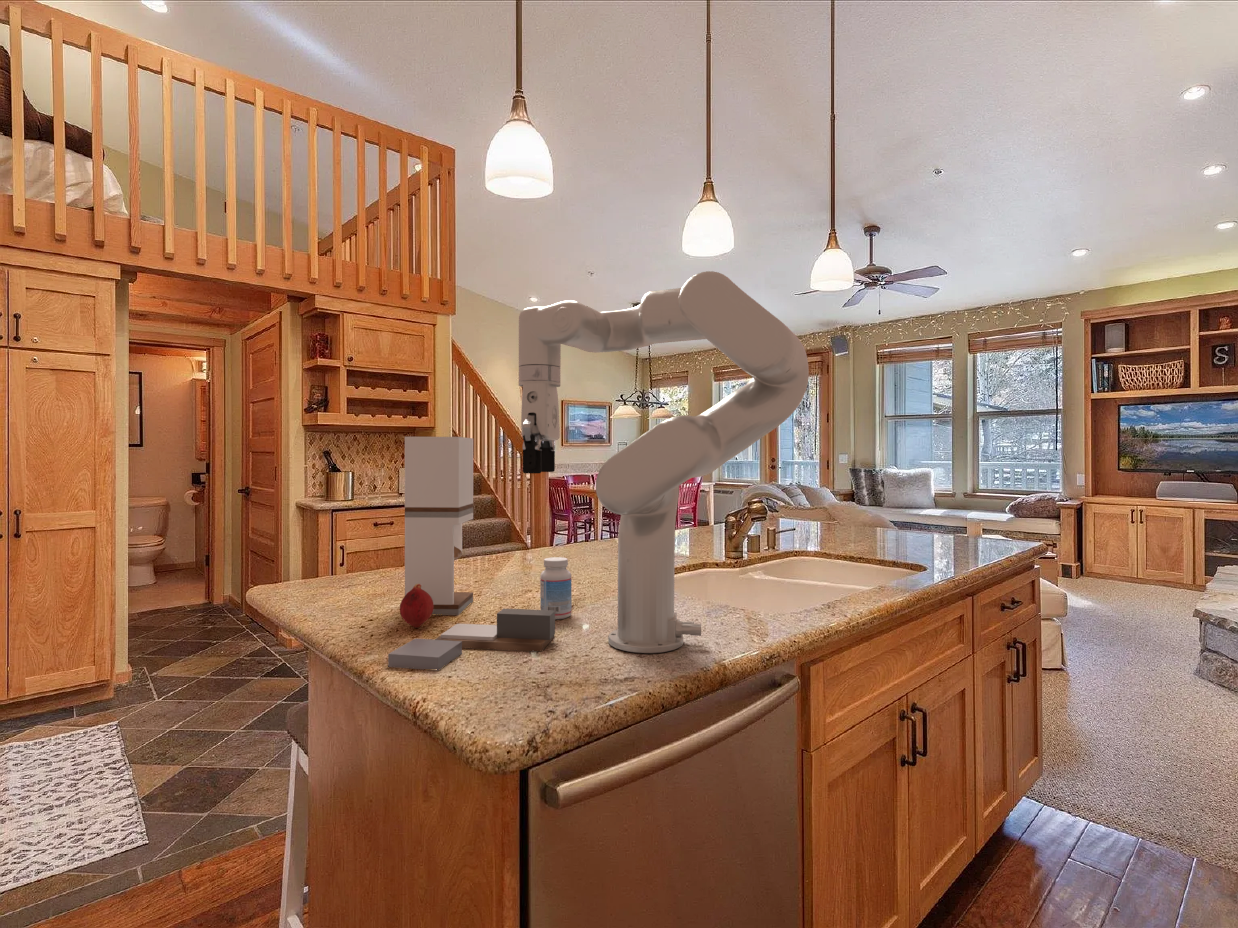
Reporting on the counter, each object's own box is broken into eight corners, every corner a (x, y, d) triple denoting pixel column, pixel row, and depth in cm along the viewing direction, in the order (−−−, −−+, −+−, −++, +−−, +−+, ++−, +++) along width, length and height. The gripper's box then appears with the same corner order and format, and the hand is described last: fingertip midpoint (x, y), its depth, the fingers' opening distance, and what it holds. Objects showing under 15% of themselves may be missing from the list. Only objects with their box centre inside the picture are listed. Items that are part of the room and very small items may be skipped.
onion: (423, 633, 111) (423, 587, 111) (393, 631, 113) (393, 586, 112) (439, 624, 117) (439, 581, 117) (410, 622, 118) (410, 580, 118)
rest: (554, 636, 110) (554, 629, 110) (541, 651, 101) (541, 644, 101) (455, 632, 112) (455, 625, 112) (434, 646, 104) (434, 639, 104)
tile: (462, 641, 100) (438, 657, 92) (461, 655, 100) (438, 672, 92) (415, 638, 102) (388, 653, 94) (415, 652, 102) (388, 669, 94)
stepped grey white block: (557, 631, 109) (557, 607, 109) (547, 643, 102) (547, 618, 102) (457, 626, 111) (457, 604, 111) (440, 638, 104) (440, 614, 104)
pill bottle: (577, 615, 125) (577, 558, 124) (558, 621, 119) (558, 562, 119) (553, 610, 128) (553, 555, 128) (533, 617, 123) (533, 559, 123)
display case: (458, 615, 124) (458, 436, 124) (404, 614, 124) (404, 436, 124) (473, 601, 136) (473, 438, 135) (423, 601, 136) (423, 438, 135)
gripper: (548, 371, 105) (547, 474, 105) (570, 383, 122) (569, 471, 123) (504, 371, 106) (504, 473, 106) (532, 383, 123) (532, 471, 124)
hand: (539, 472), depth 115 cm, fingers open, 9 cm apart
